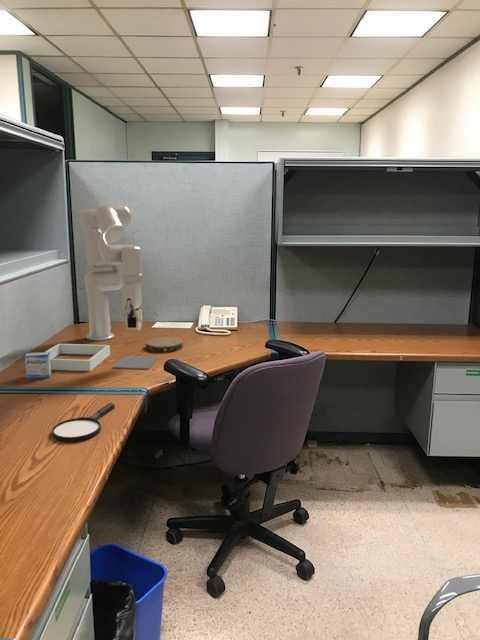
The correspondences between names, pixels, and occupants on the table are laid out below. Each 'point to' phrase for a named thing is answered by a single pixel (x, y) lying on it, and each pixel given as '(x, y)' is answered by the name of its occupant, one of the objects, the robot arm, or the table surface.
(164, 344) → the tambourine
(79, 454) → the table surface
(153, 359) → the mat
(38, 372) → the medicine box
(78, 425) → the magnifying glass
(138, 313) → the maple block
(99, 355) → the white shallow tray
